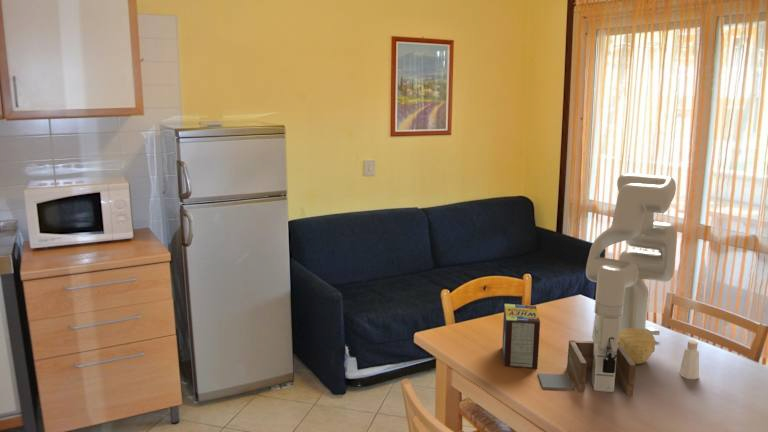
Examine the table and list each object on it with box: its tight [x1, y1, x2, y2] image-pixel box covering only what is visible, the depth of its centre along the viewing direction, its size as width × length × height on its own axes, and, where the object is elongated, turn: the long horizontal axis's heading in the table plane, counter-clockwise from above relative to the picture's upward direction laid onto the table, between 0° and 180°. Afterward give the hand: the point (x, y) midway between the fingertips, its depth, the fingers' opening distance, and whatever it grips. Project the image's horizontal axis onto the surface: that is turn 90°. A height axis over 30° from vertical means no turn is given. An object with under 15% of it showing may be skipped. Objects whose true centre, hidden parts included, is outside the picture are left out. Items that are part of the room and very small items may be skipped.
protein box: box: [501, 303, 541, 369], centre depth 198 cm, size 10×15×16 cm
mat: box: [537, 372, 576, 391], centre depth 182 cm, size 9×9×1 cm
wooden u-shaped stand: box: [566, 339, 637, 396], centre depth 183 cm, size 15×16×9 cm
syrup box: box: [591, 341, 617, 393], centre depth 178 cm, size 6×6×14 cm
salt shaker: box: [678, 339, 700, 380], centre depth 187 cm, size 5×5×11 cm
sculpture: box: [618, 328, 657, 365], centre depth 198 cm, size 11×12×11 cm
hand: (603, 365), depth 178 cm, fingers open, 9 cm apart
